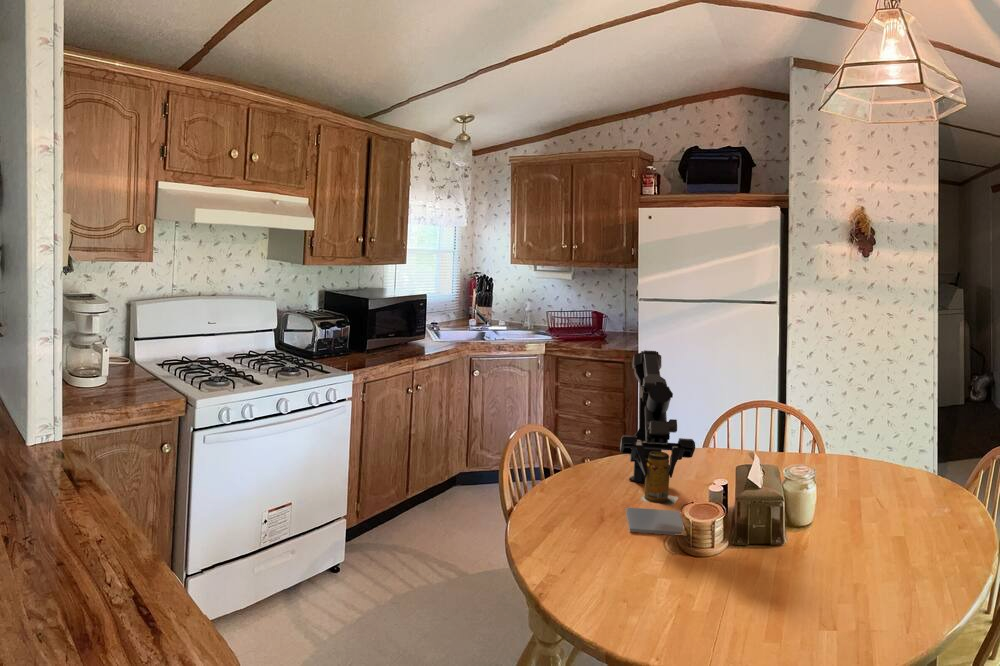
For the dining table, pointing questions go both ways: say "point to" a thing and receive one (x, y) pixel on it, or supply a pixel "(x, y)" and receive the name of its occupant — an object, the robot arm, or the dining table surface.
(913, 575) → the dining table surface
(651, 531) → the slate tile
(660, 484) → the condiment
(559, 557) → the dining table surface
